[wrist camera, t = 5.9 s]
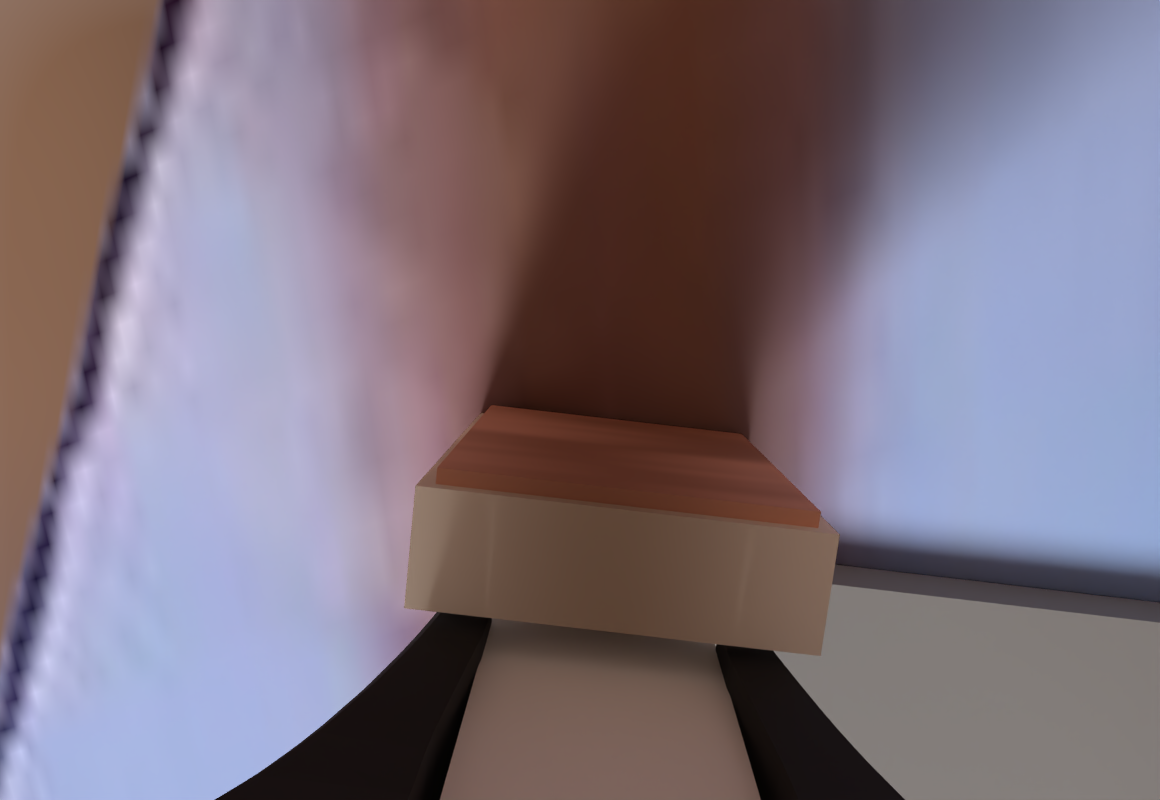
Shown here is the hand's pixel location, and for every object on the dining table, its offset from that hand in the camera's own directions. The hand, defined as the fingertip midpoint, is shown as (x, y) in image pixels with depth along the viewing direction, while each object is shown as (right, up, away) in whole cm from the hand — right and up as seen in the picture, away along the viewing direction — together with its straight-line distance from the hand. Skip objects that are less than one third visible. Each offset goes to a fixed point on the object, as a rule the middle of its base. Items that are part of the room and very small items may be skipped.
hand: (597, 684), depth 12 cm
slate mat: (+7, -4, +6) cm, 10 cm away
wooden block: (0, +3, +4) cm, 5 cm away
